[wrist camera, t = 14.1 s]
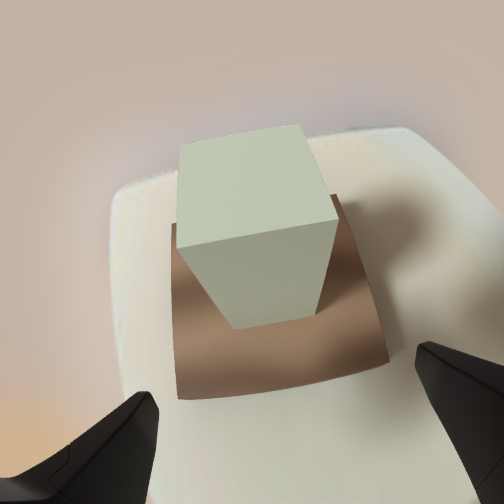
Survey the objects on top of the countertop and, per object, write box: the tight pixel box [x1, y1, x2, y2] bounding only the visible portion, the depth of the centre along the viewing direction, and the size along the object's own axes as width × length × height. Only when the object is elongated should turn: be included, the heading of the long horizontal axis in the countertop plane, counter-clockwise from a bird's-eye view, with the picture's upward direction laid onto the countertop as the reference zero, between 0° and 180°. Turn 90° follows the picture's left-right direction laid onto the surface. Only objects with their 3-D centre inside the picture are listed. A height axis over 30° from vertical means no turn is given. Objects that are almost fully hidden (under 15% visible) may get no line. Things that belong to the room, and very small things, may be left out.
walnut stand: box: [171, 194, 390, 400], centre depth 19 cm, size 13×13×2 cm
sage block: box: [176, 124, 339, 330], centre depth 14 cm, size 5×5×10 cm
